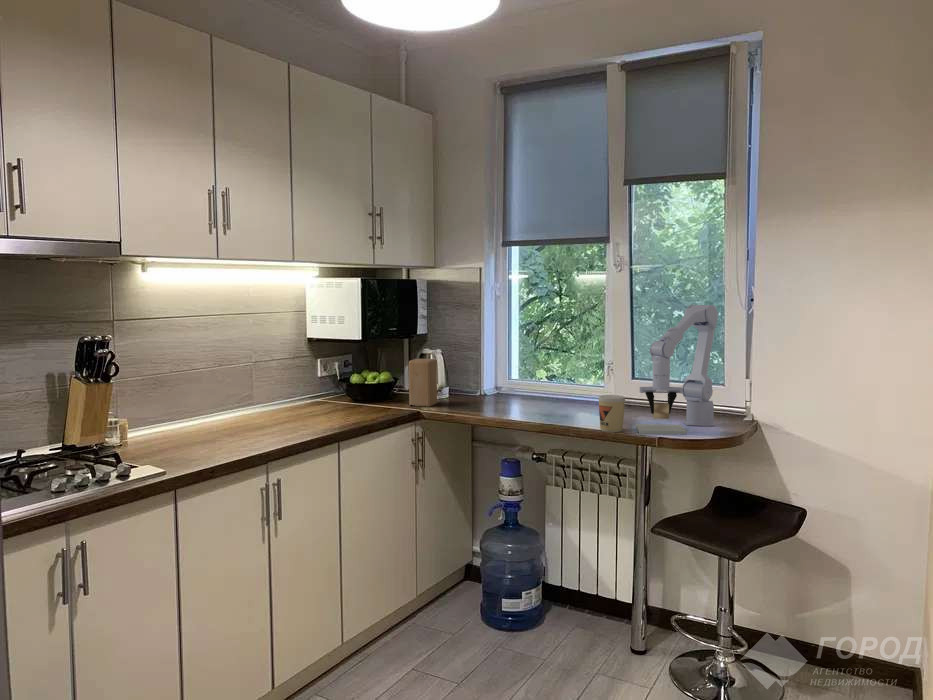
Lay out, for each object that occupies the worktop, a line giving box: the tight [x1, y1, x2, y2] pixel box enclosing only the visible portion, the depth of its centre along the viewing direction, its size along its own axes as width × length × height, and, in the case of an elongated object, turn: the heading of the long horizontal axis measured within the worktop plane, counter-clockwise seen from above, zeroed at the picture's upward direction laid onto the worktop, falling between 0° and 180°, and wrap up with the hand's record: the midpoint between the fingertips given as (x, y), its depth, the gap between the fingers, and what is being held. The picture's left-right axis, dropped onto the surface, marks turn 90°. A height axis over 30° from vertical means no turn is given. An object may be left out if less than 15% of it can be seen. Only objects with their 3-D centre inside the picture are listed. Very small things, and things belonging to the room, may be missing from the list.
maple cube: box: [651, 401, 670, 420], centre depth 254 cm, size 5×5×5 cm
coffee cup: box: [597, 394, 626, 433], centre depth 256 cm, size 9×9×12 cm
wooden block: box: [408, 358, 438, 408], centre depth 313 cm, size 10×10×20 cm
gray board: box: [634, 423, 688, 435], centre depth 254 cm, size 16×12×1 cm
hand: (660, 413), depth 254 cm, fingers closed on maple cube, 5 cm apart
